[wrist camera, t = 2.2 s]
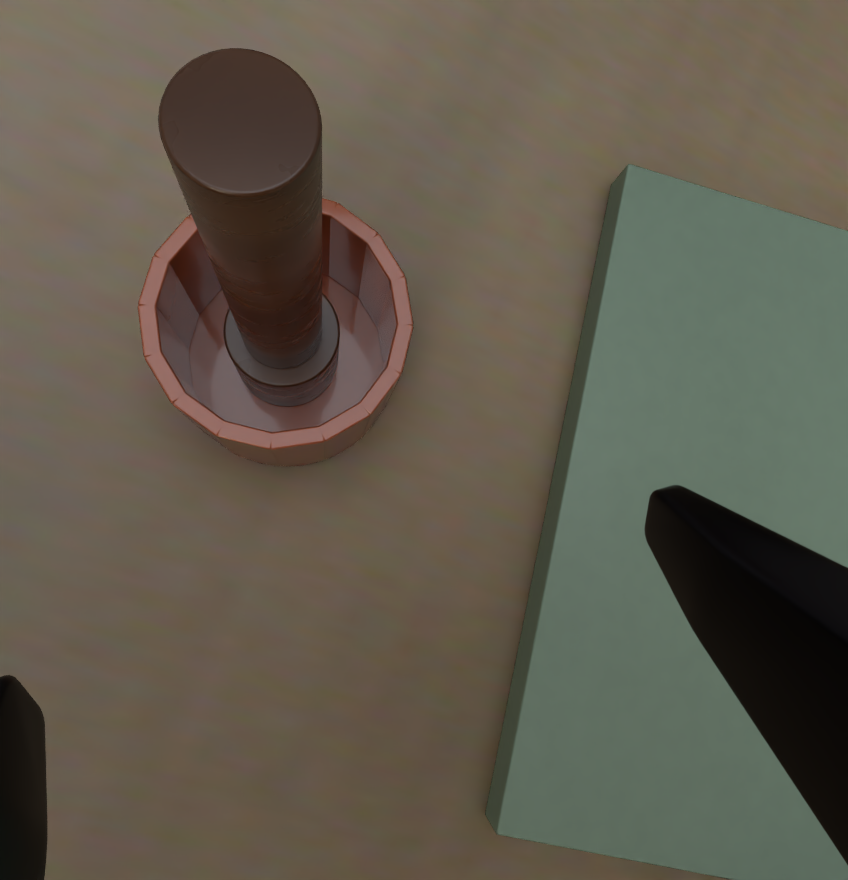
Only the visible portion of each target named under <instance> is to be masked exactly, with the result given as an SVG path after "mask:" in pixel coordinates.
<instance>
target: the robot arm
mask: <svg viewBox="0 0 848 880" xmlns="http://www.w3.org/2000/svg"><path fill="white" fill-rule="evenodd" d="M644 531H645V537H646V541H647V543H648V545H649V547H650V549H651V551H652V553H653V555H654V557H655V559H656V561H657V563H658V565H659V567H660V569H661V571H662V573H663V575H664V576H665V578H666V580H667V582H668V584H669V586H670V588H671V590H672V592H673V594H674V596H675V598H676V600H677V602H678V604H679V606H680V608H681V609H682V611H683V613H684V615H685V617H686V619H687V621H688V623H689V624H690V626H691V628H692V630H693V631H694V633H695V635H696V636H697V638H698V639H699V641H700V643H701V644H702V646H703V647H704V649H705V650H706V652H707V653H708V655H709V656H710V658H711V659H712V661H713V662H714V664H715V665H716V667H717V668H718V670H719V671H720V673H721V674H722V676H723V677H724V679H725V680H726V682H727V683H728V685H729V686H730V688H731V690H732V691H733V693H734V694H735V696H736V697H737V699H738V700H739V702H740V703H741V705H742V706H743V708H744V709H745V711H746V712H747V714H748V715H749V717H750V718H751V720H752V721H753V723H754V724H755V726H756V727H757V729H758V730H759V732H760V733H761V735H762V736H763V738H764V739H765V741H766V742H767V744H768V745H769V747H770V749H771V750H772V752H773V753H774V755H775V756H776V758H777V759H778V761H779V762H780V764H781V765H782V767H783V768H784V770H785V771H786V773H787V774H788V776H789V777H790V779H791V780H792V782H793V783H794V785H795V786H796V788H797V789H798V791H799V792H800V794H801V795H802V797H803V798H804V800H805V801H806V803H807V804H808V806H809V807H810V809H811V811H812V812H813V814H814V815H815V817H816V818H817V820H818V821H819V823H820V824H821V826H822V827H823V829H824V830H825V832H826V833H827V835H828V836H829V838H830V839H831V841H832V842H833V844H834V845H835V847H836V848H837V850H838V851H839V853H840V854H841V856H842V857H843V859H844V860H845V862H846V863H847V865H848V568H847V567H845V566H843V565H841V564H839V563H837V562H835V561H833V560H831V559H829V558H827V557H825V556H823V555H821V554H819V553H817V552H815V551H813V550H811V549H809V548H807V547H805V546H803V545H801V544H799V543H797V542H795V541H793V540H791V539H789V538H787V537H785V536H783V535H781V534H779V533H777V532H775V531H772V530H770V529H768V528H766V527H764V526H762V525H760V524H758V523H756V522H754V521H752V520H750V519H748V518H746V517H744V516H742V515H740V514H738V513H736V512H734V511H732V510H730V509H728V508H726V507H724V506H722V505H720V504H718V503H716V502H714V501H712V500H710V499H708V498H706V497H704V496H702V495H700V494H698V493H696V492H694V491H692V490H690V489H688V488H686V487H683V486H681V485H671V486H668V487H664V488H661V489H657V490H655V491H653V492H652V494H651V495H650V498H649V503H648V509H647V515H646V521H645V528H644ZM46 852H47V791H46V752H45V722H44V717H43V713H42V711H41V709H40V707H39V705H38V704H37V703H36V702H35V701H34V699H33V698H32V697H31V696H30V694H29V693H28V692H27V691H26V689H25V688H24V687H23V686H22V685H21V683H20V682H19V681H18V680H17V679H16V678H15V677H13V676H10V675H6V676H2V677H0V880H44V876H45V866H46Z"/></svg>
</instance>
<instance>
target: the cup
mask: <svg viewBox="0 0 848 880" xmlns="http://www.w3.org/2000/svg"><path fill="white" fill-rule="evenodd" d="M322 293H323V294H324V295H325V296H326V297H327V298H328V300H329V301H330V302H331V304H332V305H333V307H334V309H335V311H336V314H337V317H338V320H339V325H340V342H339V354H338V364H337V370H336V373H335V376H334V378H333V380H332V382H331V383H330V385H329V386H328V388H327V389H326V390H325V391H324V392H323V393H322V394H321V395H319V396H318V397H317V398H315V399H314V400H312V401H309V402H307V403H304V404H301V405H297V406H278V405H274V404H271V403H268V402H265V401H263V400H261V399H260V398H258V397H257V396H255V395H254V394H253V393H252V392H251V391H250V390H249V389H248V388H247V387H246V385H245V384H244V383H243V381H242V379H241V377H240V375H239V373H238V371H237V369H236V367H235V365H234V364H233V362H232V360H231V358H230V356H229V354H228V352H227V349H226V346H225V341H224V333H223V329H224V321H225V316H226V314H227V311H228V309H229V305H228V303H227V300H226V298H225V295H224V293H223V291H222V288H221V286H220V283H219V281H218V278H217V276H216V273H215V271H214V268H213V266H212V264H211V261H210V259H209V256H208V254H207V251H206V249H205V246H204V244H203V241H202V239H201V237H200V234H199V232H198V229H197V227H196V224H195V222H194V219H193V217H192V215H191V214H190V215H189V217H186V218H185V219H184V221H183V222H182V223H181V224H180V225H179V226H178V227H177V228H176V230H175V231H174V232H173V233H172V234H171V235H170V236H169V238H168V239H167V240H166V241H165V242H164V243H163V244H162V246H161V247H160V248H159V249H158V250H157V251H156V252H155V254H154V256H153V257H152V260H151V264H150V267H149V270H148V273H147V276H146V279H145V283H144V286H143V289H142V292H141V295H140V299H139V302H138V314H139V322H140V330H141V339H142V347H143V355H144V357H145V360H146V362H147V364H148V365H149V367H150V369H151V370H152V372H153V374H154V375H155V377H156V379H157V380H158V382H159V384H160V385H161V387H162V389H163V391H164V392H165V394H166V396H167V397H168V399H169V401H170V402H171V403H172V404H173V406H175V407H176V408H177V409H178V410H179V411H180V412H181V413H183V414H184V415H185V416H186V417H187V418H188V419H189V420H191V421H192V422H193V423H194V424H195V425H196V426H197V427H199V428H200V429H201V430H202V431H203V432H205V433H206V434H207V435H209V436H210V437H212V438H213V439H214V440H216V441H217V442H218V443H220V444H221V445H222V446H224V447H225V448H227V449H228V450H229V451H231V452H232V453H234V454H235V455H238V456H239V457H243V458H246V459H248V460H252V461H255V462H258V463H261V464H267V465H273V466H301V465H307V464H312V463H317V462H320V461H323V460H325V459H328V458H331V457H333V456H335V455H337V454H339V453H341V452H343V451H344V450H346V449H347V448H349V447H350V446H352V445H353V444H354V443H356V442H357V441H358V440H360V439H361V438H362V437H363V436H364V435H365V434H366V432H367V431H368V430H369V429H370V428H371V426H372V425H373V424H374V422H375V421H376V419H377V418H378V416H379V415H380V414H381V412H382V411H383V410H384V408H385V407H386V405H387V403H388V401H389V399H390V397H391V395H392V393H393V391H394V389H395V387H396V385H397V383H398V381H399V379H400V377H401V374H402V372H403V368H404V364H405V360H406V356H407V352H408V348H409V344H410V340H411V335H412V331H413V324H414V323H413V317H412V311H411V305H410V299H409V293H408V287H407V281H406V278H405V275H404V273H403V271H402V270H401V268H400V267H399V265H398V263H397V262H396V260H395V258H394V257H393V255H392V254H391V252H390V250H389V249H388V247H387V246H386V244H385V242H384V241H383V239H382V237H381V236H380V235H379V234H378V232H376V231H375V230H374V229H372V228H371V227H370V226H368V225H367V224H366V223H364V222H363V221H362V220H360V219H359V218H358V217H356V216H355V215H354V214H352V213H351V212H350V211H348V210H347V209H346V208H344V207H343V206H342V205H340V204H339V203H338V204H337V203H336V202H334V201H330V200H327V199H323V198H322Z"/></svg>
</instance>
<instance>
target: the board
mask: <svg viewBox="0 0 848 880" xmlns="http://www.w3.org/2000/svg"><path fill="white" fill-rule="evenodd" d="M671 485H681V486H683V487H686V488H688V489H690V490H692V491H694V492H696V493H698V494H700V495H702V496H704V497H706V498H708V499H710V500H712V501H714V502H716V503H718V504H720V505H722V506H724V507H726V508H728V509H730V510H732V511H734V512H736V513H738V514H740V515H742V516H744V517H746V518H748V519H750V520H752V521H754V522H756V523H758V524H760V525H762V526H764V527H766V528H768V529H770V530H772V531H775V532H777V533H779V534H781V535H783V536H785V537H787V538H789V539H791V540H793V541H795V542H797V543H799V544H801V545H803V546H805V547H807V548H809V549H811V550H813V551H815V552H817V553H819V554H821V555H823V556H825V557H827V558H829V559H831V560H833V561H835V562H837V563H839V564H841V565H843V566H845V567H847V568H848V231H846V230H843V229H840V228H836V227H833V226H830V225H827V224H823V223H820V222H817V221H814V220H810V219H807V218H804V217H801V216H797V215H794V214H791V213H788V212H784V211H781V210H778V209H775V208H771V207H768V206H765V205H762V204H758V203H755V202H752V201H749V200H745V199H742V198H739V197H736V196H732V195H729V194H726V193H722V192H719V191H716V190H713V189H709V188H706V187H703V186H700V185H696V184H693V183H690V182H687V181H683V180H680V179H677V178H674V177H670V176H667V175H664V174H661V173H657V172H654V171H651V170H648V169H644V168H641V167H638V166H635V165H631V164H628V165H627V166H626V167H625V169H624V170H623V171H622V172H621V173H620V175H619V176H618V177H617V178H616V180H615V181H614V182H613V183H612V184H611V188H610V193H609V198H608V203H607V208H606V213H605V218H604V223H603V228H602V233H601V238H600V243H599V248H598V253H597V258H596V263H595V268H594V273H593V278H592V283H591V288H590V293H589V298H588V303H587V308H586V313H585V318H584V323H583V328H582V333H581V338H580V343H579V348H578V353H577V358H576V363H575V368H574V373H573V378H572V383H571V388H570V393H569V398H568V403H567V408H566V413H565V418H564V423H563V428H562V433H561V438H560V443H559V448H558V453H557V458H556V463H555V468H554V473H553V478H552V483H551V488H550V493H549V498H548V503H547V508H546V513H545V518H544V523H543V528H542V533H541V537H540V542H539V547H538V552H537V557H536V562H535V567H534V572H533V577H532V582H531V587H530V592H529V597H528V602H527V607H526V612H525V617H524V622H523V627H522V632H521V637H520V642H519V647H518V652H517V657H516V662H515V667H514V672H513V677H512V682H511V687H510V692H509V697H508V702H507V707H506V712H505V717H504V722H503V727H502V732H501V737H500V742H499V747H498V752H497V757H496V762H495V767H494V772H493V777H492V782H491V787H490V792H489V797H488V802H487V807H486V812H485V815H486V817H487V819H488V820H489V822H490V824H491V825H492V827H493V829H494V831H495V832H496V834H498V835H503V836H508V837H513V838H518V839H524V840H529V841H534V842H539V843H544V844H550V845H555V846H560V847H565V848H570V849H576V850H581V851H586V852H591V853H596V854H602V855H607V856H612V857H617V858H622V859H628V860H633V861H638V862H643V863H648V864H654V865H659V866H664V867H669V868H674V869H680V870H685V871H690V872H695V873H700V874H706V875H711V876H716V877H721V878H726V879H732V880H848V865H847V863H846V862H845V860H844V859H843V857H842V856H841V854H840V853H839V851H838V850H837V848H836V847H835V845H834V844H833V842H832V841H831V839H830V838H829V836H828V835H827V833H826V832H825V830H824V829H823V827H822V826H821V824H820V823H819V821H818V820H817V818H816V817H815V815H814V814H813V812H812V811H811V809H810V807H809V806H808V804H807V803H806V801H805V800H804V798H803V797H802V795H801V794H800V792H799V791H798V789H797V788H796V786H795V785H794V783H793V782H792V780H791V779H790V777H789V776H788V774H787V773H786V771H785V770H784V768H783V767H782V765H781V764H780V762H779V761H778V759H777V758H776V756H775V755H774V753H773V752H772V750H771V749H770V747H769V745H768V744H767V742H766V741H765V739H764V738H763V736H762V735H761V733H760V732H759V730H758V729H757V727H756V726H755V724H754V723H753V721H752V720H751V718H750V717H749V715H748V714H747V712H746V711H745V709H744V708H743V706H742V705H741V703H740V702H739V700H738V699H737V697H736V696H735V694H734V693H733V691H732V690H731V688H730V686H729V685H728V683H727V682H726V680H725V679H724V677H723V676H722V674H721V673H720V671H719V670H718V668H717V667H716V665H715V664H714V662H713V661H712V659H711V658H710V656H709V655H708V653H707V652H706V650H705V649H704V647H703V646H702V644H701V643H700V641H699V639H698V638H697V636H696V635H695V633H694V631H693V630H692V628H691V626H690V624H689V623H688V621H687V619H686V617H685V615H684V613H683V611H682V609H681V608H680V606H679V604H678V602H677V600H676V598H675V596H674V594H673V592H672V590H671V588H670V586H669V584H668V582H667V580H666V578H665V576H664V575H663V573H662V571H661V569H660V567H659V565H658V563H657V561H656V559H655V557H654V555H653V553H652V551H651V549H650V547H649V545H648V543H647V541H646V537H645V531H644V528H645V521H646V515H647V509H648V503H649V498H650V495H651V494H652V492H653V491H655V490H657V489H661V488H664V487H668V486H671Z"/></svg>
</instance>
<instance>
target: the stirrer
mask: <svg viewBox="0 0 848 880" xmlns="http://www.w3.org/2000/svg"><path fill="white" fill-rule="evenodd" d="M158 123H159V132H160V137H161V140H162V143H163V146H164V148H165V151H166V153H167V156H168V158H169V161H170V163H171V165H172V168H173V170H174V173H175V175H176V178H177V180H178V183H179V185H180V188H181V190H182V192H183V195H184V197H185V200H186V202H187V205H188V207H189V210H190V212H191V215H192V217H193V219H194V222H195V224H196V227H197V229H198V232H199V234H200V237H201V239H202V241H203V244H204V246H205V249H206V251H207V254H208V256H209V259H210V261H211V264H212V266H213V268H214V271H215V273H216V276H217V278H218V281H219V283H220V286H221V288H222V291H223V293H224V295H225V298H226V300H227V303H228V305H229V309H228V311H227V314H226V316H225V321H224V329H223V333H224V341H225V346H226V349H227V352H228V354H229V356H230V358H231V360H232V362H233V364H234V365H235V367H236V369H237V371H238V373H239V375H240V377H241V379H242V381H243V383H244V384H245V385H246V387H247V388H248V389H249V390H250V391H251V392H252V393H253V394H254V395H255V396H257V397H258V398H260V399H261V400H263V401H265V402H268V403H271V404H274V405H278V406H297V405H301V404H304V403H307V402H309V401H312V400H314V399H315V398H317V397H318V396H319V395H321V394H322V393H323V392H324V391H325V390H326V389H327V388H328V386H329V385H330V383H331V382H332V380H333V378H334V376H335V373H336V370H337V364H338V354H339V342H340V325H339V320H338V317H337V314H336V311H335V309H334V307H333V305H332V304H331V302H330V301H329V300H328V298H327V297H326V296H325V295H324V294H323V293H322V122H321V115H320V110H319V107H318V104H317V101H316V99H315V97H314V95H313V93H312V91H311V89H310V88H309V87H308V85H307V84H306V82H305V81H304V80H303V79H302V78H301V77H300V76H299V74H298V73H297V72H295V71H294V70H293V69H292V68H291V67H290V66H288V65H287V64H285V63H284V62H282V61H281V60H279V59H277V58H275V57H273V56H270V55H268V54H265V53H262V52H259V51H255V50H249V49H241V48H230V49H221V50H216V51H212V52H209V53H206V54H203V55H201V56H199V57H197V58H195V59H193V60H191V61H190V62H189V63H187V64H186V65H184V66H183V67H182V68H181V69H180V70H179V71H178V72H177V73H176V74H175V75H174V77H173V78H172V79H171V80H170V82H169V84H168V85H167V87H166V89H165V91H164V94H163V96H162V99H161V103H160V107H159V115H158Z"/></svg>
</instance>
